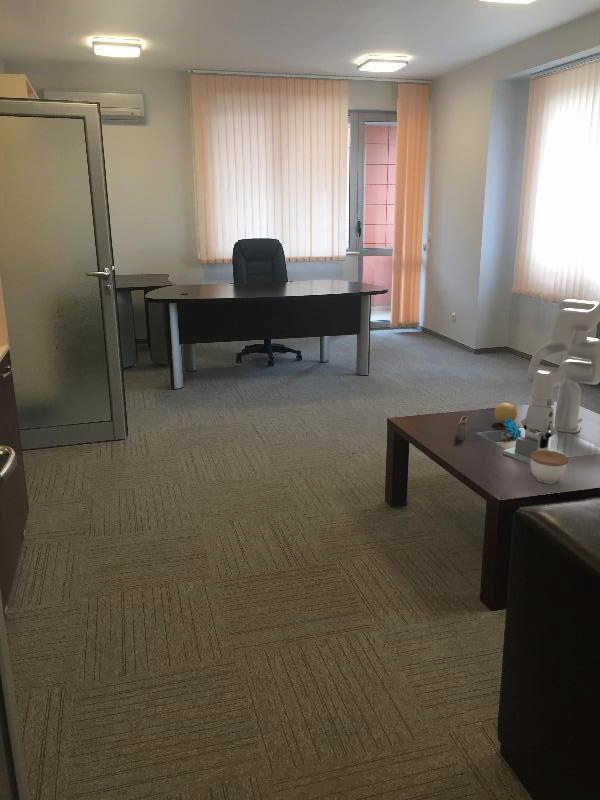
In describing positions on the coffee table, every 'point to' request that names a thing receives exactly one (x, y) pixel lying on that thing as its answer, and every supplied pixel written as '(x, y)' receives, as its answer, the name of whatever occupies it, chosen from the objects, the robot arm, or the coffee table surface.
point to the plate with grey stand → (524, 449)
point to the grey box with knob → (536, 437)
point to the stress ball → (505, 412)
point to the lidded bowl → (548, 465)
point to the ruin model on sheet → (463, 428)
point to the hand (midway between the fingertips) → (536, 444)
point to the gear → (512, 428)
